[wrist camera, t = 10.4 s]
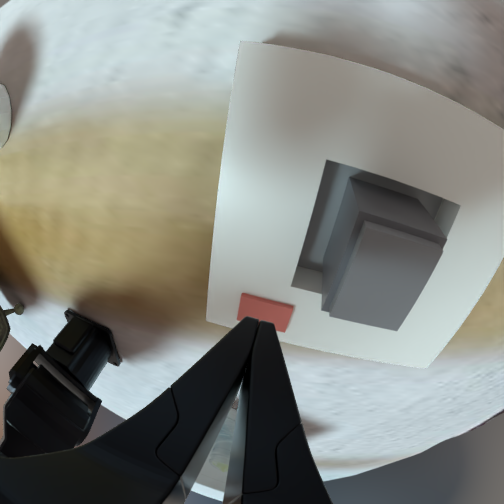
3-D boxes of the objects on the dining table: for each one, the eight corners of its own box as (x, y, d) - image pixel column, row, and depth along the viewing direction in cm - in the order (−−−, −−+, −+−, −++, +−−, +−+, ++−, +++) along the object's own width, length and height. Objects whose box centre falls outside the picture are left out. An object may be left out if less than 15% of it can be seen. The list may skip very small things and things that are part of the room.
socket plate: (420, 343, 19) (426, 372, 17) (217, 296, 21) (204, 323, 18) (519, 146, 10) (546, 160, 8) (252, 48, 12) (238, 39, 9)
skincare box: (288, 430, 30) (271, 507, 21) (258, 440, 34) (240, 507, 25) (212, 395, 29) (181, 479, 20) (190, 409, 32) (161, 479, 23)
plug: (385, 274, 16) (399, 336, 12) (322, 258, 16) (320, 319, 12) (418, 199, 13) (452, 246, 9) (348, 176, 14) (361, 217, 10)
